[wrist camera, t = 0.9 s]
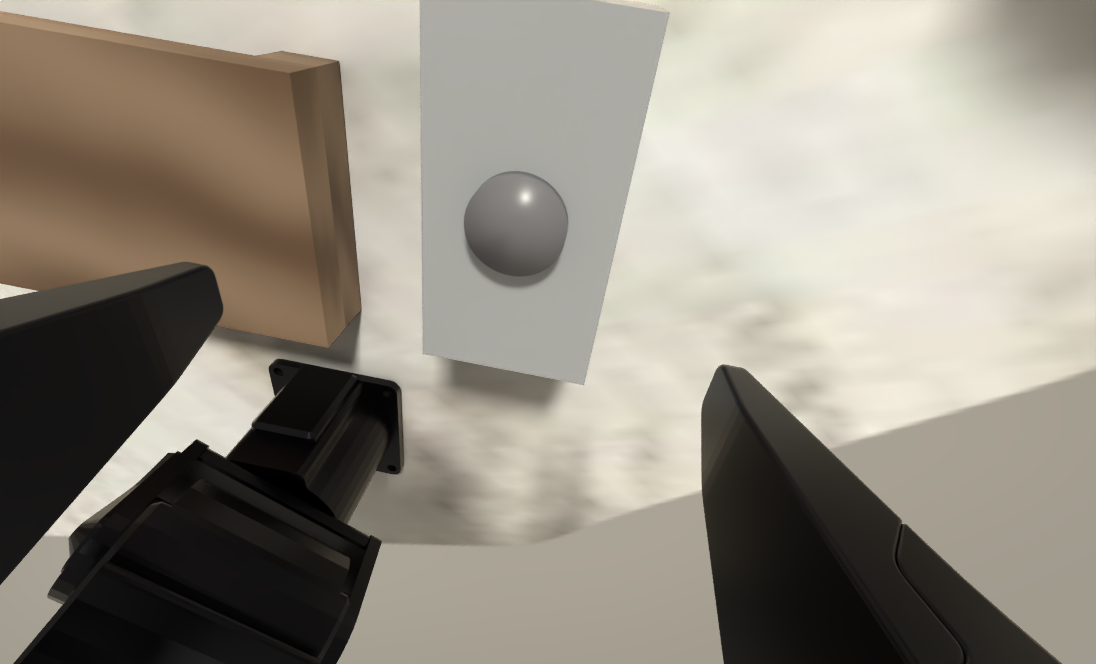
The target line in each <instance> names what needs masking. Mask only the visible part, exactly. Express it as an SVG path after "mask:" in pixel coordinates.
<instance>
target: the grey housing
mask: <svg viewBox="0 0 1096 664" xmlns="http://www.w3.org/2000/svg"><path fill="white" fill-rule="evenodd" d="M668 18H669V12H667V11H666V10H664V9H663V8H661V7H660V6H658V5H652V4H646V3H640V2H634V1H628V0H420V85H421V194H422V302H423V354H427V355H432V356H437V357H442V358H447V359H453V360H458V361H463V362H468V363H473V364H478V365H483V366H489V367H494V368H499V369H504V370H509V371H514V372H519V373H525V374H530V375H535V376H540V377H545V378H550V379H555V380H560V381H566V382H571V383H576V384H581V385H584V382H585V378H586V374H587V369H588V365H589V361H590V356H591V352H592V348H593V343H594V339H595V335H596V330H597V326H598V322H599V317H600V313H601V309H602V304H603V300H604V296H605V291H606V287H607V283H608V278H609V274H610V270H611V265H612V261H613V257H614V252H615V248H616V243H617V239H618V235H619V230H620V226H621V222H622V217H623V213H624V209H625V204H626V200H627V196H628V191H629V187H630V183H631V178H632V174H633V170H634V165H635V161H636V157H637V152H638V148H639V144H640V139H641V135H642V131H643V126H644V122H645V118H646V113H647V109H648V105H649V100H650V96H651V91H652V87H653V83H654V78H655V74H656V70H657V65H658V61H659V57H660V52H661V48H662V44H663V39H664V35H665V31H666V26H667V22H668Z"/></svg>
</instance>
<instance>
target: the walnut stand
mask: <svg viewBox="0 0 1096 664" xmlns="http://www.w3.org/2000/svg"><path fill="white" fill-rule="evenodd" d="M179 262H192V263H197V264H202V265H207V266H209V267H210V268H211V269H212V270H213V271H214V273H215V276H216V279H217V283H218V287H219V291H220V294H221V298H222V302H223V306H224V307H223V315H222V317H221V319H220V321H219V322H218V324H217V325H216V326H220V327H225V328H230V329H235V330H240V331H245V332H250V333H255V334H260V335H265V336H270V337H276V338H281V339H286V340H291V341H296V342H301V343H306V344H311V345H316V346H321V347H326V348H329V347H330V345H331V344H332V343H333V342H334V341H335V339H336V338H337V337H338V336H339V335H340V334H341V332H342V331H343V330H344V329H345V328H346V327H347V325H348V324H349V323H350V322H351V321H352V320H353V318H354V317H355V316H356V315H357V314H358V312H359V311H360V310H361V301H360V289H359V278H358V267H357V256H356V245H355V234H354V223H353V211H352V200H351V189H350V178H349V167H348V156H347V145H346V134H345V122H344V111H343V100H342V89H341V78H340V67H339V61H335V60H330V59H324V58H318V57H312V56H307V55H301V54H295V53H289V52H284V51H280V52H274V53H269V54H263V55H257V56H253V55H247V54H241V53H235V52H230V51H224V50H218V49H213V48H207V47H201V46H195V45H190V44H184V43H178V42H173V41H167V40H161V39H155V38H150V37H144V36H138V35H133V34H127V33H121V32H116V31H110V30H104V29H98V28H93V27H87V26H81V25H76V24H70V23H64V22H58V21H53V20H47V19H41V18H36V17H30V16H24V15H18V14H13V13H7V12H1V11H0V283H1V284H6V285H11V286H16V287H21V288H26V289H32V290H37V291H42V290H47V289H52V288H57V287H62V286H67V285H72V284H77V283H81V282H86V281H91V280H96V279H101V278H106V277H111V276H116V275H120V274H125V273H130V272H135V271H140V270H145V269H150V268H154V267H159V266H164V265H169V264H174V263H179Z"/></svg>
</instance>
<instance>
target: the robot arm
mask: <svg viewBox="0 0 1096 664" xmlns="http://www.w3.org/2000/svg"><path fill="white" fill-rule="evenodd" d="M223 307H224V306H223V302H222V298H221V294H220V291H219V287H218V283H217V279H216V276H215V273H214V271H213V270H212V269H211V268H210V267H209V266H207V265H202V264H197V263H192V262H179V263H174V264H169V265H164V266H159V267H154V268H150V269H145V270H140V271H135V272H130V273H125V274H120V275H116V276H111V277H106V278H101V279H96V280H91V281H86V282H81V283H77V284H72V285H67V286H62V287H57V288H52V289H47V290H42V291H38V292H33V293H28V294H23V295H18V296H13V297H8V298H4V299H0V585H1V583H2V582H3V581H4V580H5V579H6V578H7V577H8V575H9V574H10V573H11V572H12V571H13V570H14V569H15V567H16V566H17V565H18V564H19V563H20V562H21V561H22V559H23V558H24V557H25V556H26V555H27V554H28V553H29V551H30V550H31V549H32V548H33V547H34V546H35V544H36V543H37V542H38V541H39V540H40V539H41V537H42V536H43V535H44V534H45V533H46V532H47V531H48V530H49V528H50V527H51V526H52V525H53V524H54V523H55V522H56V520H57V519H58V518H59V517H60V516H61V515H62V514H63V512H64V511H65V510H66V509H67V508H68V507H69V505H70V504H71V503H72V502H73V501H74V500H75V499H76V497H77V496H78V495H79V494H80V493H81V492H82V491H83V489H84V488H85V487H86V486H87V485H88V484H89V483H90V481H91V480H92V479H93V478H94V477H95V476H96V474H97V473H98V472H99V471H100V470H101V469H102V468H103V466H104V465H105V464H106V463H107V462H108V461H109V460H110V458H111V457H112V456H113V455H114V454H115V453H116V452H117V450H118V449H119V448H120V447H121V446H122V445H123V443H124V442H125V441H126V440H127V439H128V438H129V437H130V435H131V434H132V433H133V432H134V431H135V430H136V429H137V427H138V426H139V425H140V424H141V423H142V422H143V421H144V419H145V418H146V417H147V416H148V415H149V414H150V412H151V411H152V410H153V409H154V408H155V407H156V406H157V404H158V403H159V402H160V401H161V400H162V399H163V398H164V396H165V395H166V394H167V393H168V392H169V390H170V389H171V388H172V387H173V386H174V384H175V383H176V382H177V380H178V379H179V378H180V376H181V375H182V374H183V372H184V371H185V369H186V368H187V366H188V365H189V364H190V362H191V361H192V359H193V358H194V357H195V355H196V354H197V352H198V351H199V349H200V348H201V347H202V345H203V344H204V342H205V341H206V339H207V338H208V337H209V335H210V334H211V332H212V331H213V329H214V328H215V327H216V325H217V324H218V322H219V321H220V319H221V317H222V315H223ZM269 373H270V377H271V382H272V386H273V390H274V394H275V397H274V398H273V399H272V401H271V402H270V403H269V404H268V405H267V406H266V407H265V408H264V410H263V411H262V412H261V413H260V414H259V415H258V416H257V418H256V419H255V420H254V421H253V422H252V424H251V425H252V427H251V429H250V430H249V431H248V432H247V433H246V434H245V435H244V437H243V438H242V439H241V440H240V441H239V442H238V444H237V445H236V446H235V447H234V448H233V449H232V450H231V452H230V453H229V454H228V455H227V456H226V457H223V456H222V455H220V454H218V453H216V452H214V451H212V450H211V449H209V446H208V445H207V444H205V443H203V442H201V441H199V440H197V439H196V440H195V441H194V442H193V443H192V444H191V445H190V446H188V447H187V448H186V449H185V450H184V451H183V452H182V453H181V452H179V451H177V452H176V453H168V454H167V455H166V456H165V457H164V458H163V459H162V460H161V461H160V462H159V463H158V464H157V465H156V466H155V467H154V468H153V469H152V470H151V471H150V472H148V473H147V474H146V475H145V476H144V477H143V478H142V479H141V480H140V481H139V482H138V483H137V484H136V485H134V486H133V487H132V488H131V489H129V490H128V491H127V492H125V493H124V494H122V495H121V496H120V497H118V498H117V499H115V500H114V501H113V502H111V503H110V504H108V505H107V506H106V507H104V508H103V509H101V510H100V511H99V512H97V513H96V514H94V515H93V516H92V517H90V518H89V519H87V520H86V521H85V522H83V523H82V524H81V525H80V526H79V527H78V528H77V529H76V530H75V531H74V532H73V533H72V534H71V536H70V537H69V551H70V558H69V559H68V560H67V562H66V563H65V565H64V567H63V568H62V570H61V572H62V573H61V575H60V576H59V577H58V579H57V580H56V581H55V583H54V584H53V586H52V587H51V589H50V591H49V593H48V598H49V599H51V600H54V601H56V602H58V603H60V604H63V605H62V606H61V608H60V609H59V610H58V611H57V613H56V614H55V615H54V616H53V617H52V618H51V620H50V621H49V622H48V623H47V624H46V626H45V627H44V628H43V629H42V630H41V632H40V633H39V634H38V635H37V636H36V638H35V639H34V640H33V641H32V642H31V643H30V645H29V646H28V647H27V648H26V649H25V651H24V652H23V653H22V654H21V655H20V657H19V658H18V659H17V660H16V661H15V662H14V664H336V663H337V661H338V660H339V658H340V656H341V654H342V652H343V650H344V648H345V646H346V644H347V642H348V640H349V638H350V635H351V633H352V631H353V629H354V626H355V623H356V620H357V618H358V615H359V611H360V608H361V605H362V602H363V599H364V596H365V592H366V589H367V586H368V583H369V580H370V577H371V574H372V570H373V567H374V564H375V561H376V558H377V555H378V552H379V549H380V546H381V543H382V541H381V540H379V539H377V538H376V537H374V536H372V535H371V536H367V535H366V534H364V533H362V532H360V531H358V530H356V529H355V528H353V527H351V526H349V525H347V524H348V522H349V520H350V518H351V516H352V514H353V512H354V510H355V509H356V507H357V505H358V503H359V501H360V499H361V497H362V496H363V494H364V492H365V490H366V488H367V486H368V484H369V482H370V481H371V479H372V477H373V475H374V473H375V471H380V472H385V473H390V474H398V473H400V471H401V469H402V467H403V441H402V417H401V393H400V387H399V386H398V385H397V384H396V383H395V382H393V381H390V380H385V379H380V378H375V377H370V376H365V375H359V374H354V373H349V372H344V371H339V370H334V369H329V368H324V367H319V366H314V365H309V364H304V363H299V362H294V361H289V360H284V359H276V360H275V361H274V362H273V363H272V364H271V365H270V366H269ZM387 390H389V391H391V392H389V391H387ZM701 472H702V496H703V506H704V513H705V521H706V529H707V537H708V544H709V551H710V559H711V567H712V575H713V583H714V591H715V597H716V598H715V599H716V606H717V614H718V622H719V629H720V637H721V645H722V652H723V660H724V664H1062V663H1061V662H1059V661H1058V660H1057V659H1056V658H1055V657H1053V656H1052V655H1051V654H1050V653H1049V652H1048V651H1046V650H1045V649H1044V648H1043V647H1042V646H1041V645H1040V644H1038V643H1037V642H1036V641H1035V640H1034V639H1033V638H1031V637H1030V636H1029V635H1028V634H1027V633H1026V632H1024V631H1023V630H1022V629H1021V628H1020V627H1019V626H1017V625H1016V624H1015V623H1014V622H1013V621H1012V620H1010V619H1009V618H1008V617H1007V616H1006V615H1005V614H1003V612H1001V611H1000V610H999V609H998V608H997V607H996V606H994V605H993V604H992V603H991V602H990V601H989V600H988V599H987V598H985V597H984V596H983V595H982V594H981V593H980V592H979V591H977V590H976V589H975V588H974V587H973V586H972V585H971V584H969V583H968V582H967V581H966V580H965V579H964V578H963V577H962V576H961V575H960V574H959V573H957V572H956V571H955V570H954V569H953V568H952V567H951V566H950V565H949V564H948V563H947V562H946V561H945V560H943V559H942V558H941V557H940V556H939V555H938V554H937V553H936V552H935V551H934V550H933V549H932V548H931V547H930V546H929V545H927V543H925V542H924V541H923V540H922V539H921V538H920V537H919V536H918V535H917V534H916V533H915V532H914V531H913V530H912V529H911V528H910V527H909V526H908V525H906V524H902V520H901V519H900V518H899V517H898V516H897V515H896V514H895V513H894V512H893V511H892V510H891V509H890V508H889V507H888V506H887V505H886V504H885V503H884V502H883V501H882V500H881V499H879V497H878V496H877V495H876V494H875V493H873V492H872V491H871V490H870V489H869V488H868V487H867V486H866V485H865V484H864V483H863V482H862V481H861V480H860V479H859V478H858V477H857V476H856V475H855V474H854V473H853V472H851V470H850V469H848V468H847V467H846V466H845V465H844V464H843V463H842V462H841V461H840V460H839V459H838V458H837V457H836V456H835V455H834V454H833V453H832V452H831V451H830V450H829V449H828V448H827V447H826V446H825V445H824V444H823V443H822V442H821V441H820V440H818V439H817V438H816V437H815V436H814V435H813V434H812V433H811V432H810V431H809V430H808V429H807V428H806V427H805V426H804V425H803V424H802V423H801V422H800V421H799V420H798V419H797V418H796V417H795V416H794V415H793V414H791V413H790V412H789V411H788V410H787V409H786V408H785V407H784V406H783V405H782V404H781V403H780V402H779V401H778V400H777V399H776V398H775V397H774V396H773V395H772V394H771V393H770V392H769V391H768V390H767V389H766V388H765V387H763V386H762V385H761V384H760V383H759V382H758V381H757V380H756V379H755V378H754V377H753V376H752V375H751V374H750V373H749V372H748V371H747V370H746V369H744V368H740V367H735V366H730V365H720V366H719V367H718V368H717V370H716V372H715V374H714V376H713V379H712V381H711V383H710V386H709V388H708V391H707V393H706V395H705V398H704V400H703V404H702V411H701Z"/></svg>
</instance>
